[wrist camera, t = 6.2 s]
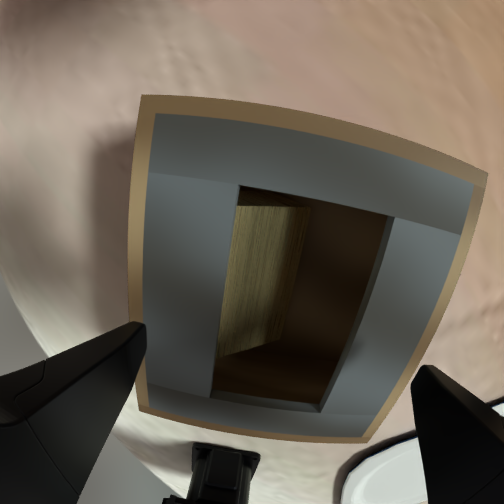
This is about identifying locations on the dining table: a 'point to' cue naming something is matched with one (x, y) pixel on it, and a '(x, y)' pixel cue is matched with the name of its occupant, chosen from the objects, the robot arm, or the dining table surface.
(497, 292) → the dining table surface
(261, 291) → the wooden block
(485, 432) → the robot arm
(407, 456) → the plate
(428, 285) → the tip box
